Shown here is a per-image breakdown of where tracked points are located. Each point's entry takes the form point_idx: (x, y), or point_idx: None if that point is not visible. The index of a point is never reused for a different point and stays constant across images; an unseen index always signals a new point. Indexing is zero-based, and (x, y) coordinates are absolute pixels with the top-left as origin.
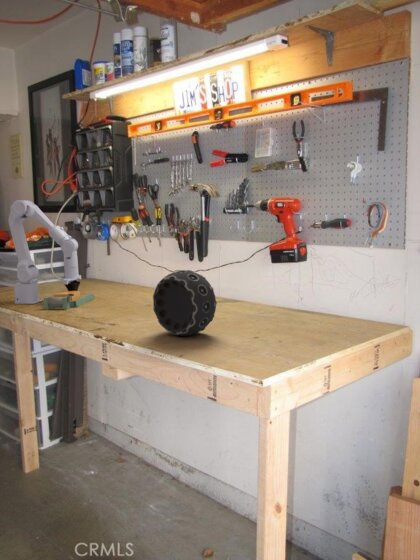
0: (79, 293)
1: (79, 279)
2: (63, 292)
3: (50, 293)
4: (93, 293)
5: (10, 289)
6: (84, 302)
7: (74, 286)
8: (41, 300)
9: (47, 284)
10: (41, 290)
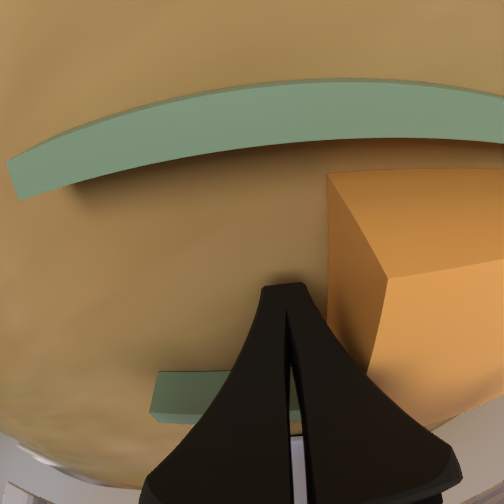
0: (381, 242)
1: (40, 499)
2: (460, 391)
3: (99, 444)
4: (19, 154)
5: (125, 485)
6: (403, 80)
7: (418, 431)
8: (293, 439)
9: (29, 446)
10: (84, 457)
